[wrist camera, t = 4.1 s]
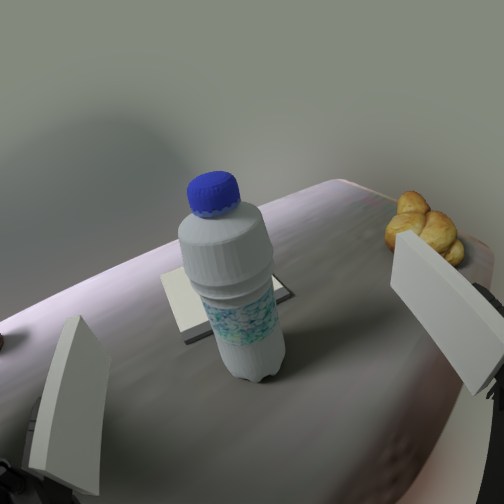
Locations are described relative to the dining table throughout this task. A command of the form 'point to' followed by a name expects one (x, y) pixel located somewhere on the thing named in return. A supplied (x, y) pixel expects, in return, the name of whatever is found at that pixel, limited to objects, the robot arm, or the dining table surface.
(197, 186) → the bottle
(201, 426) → the dining table surface
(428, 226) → the bread roll
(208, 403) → the dining table surface
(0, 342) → the supplement bottle
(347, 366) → the dining table surface
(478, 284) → the robot arm
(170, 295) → the mat
